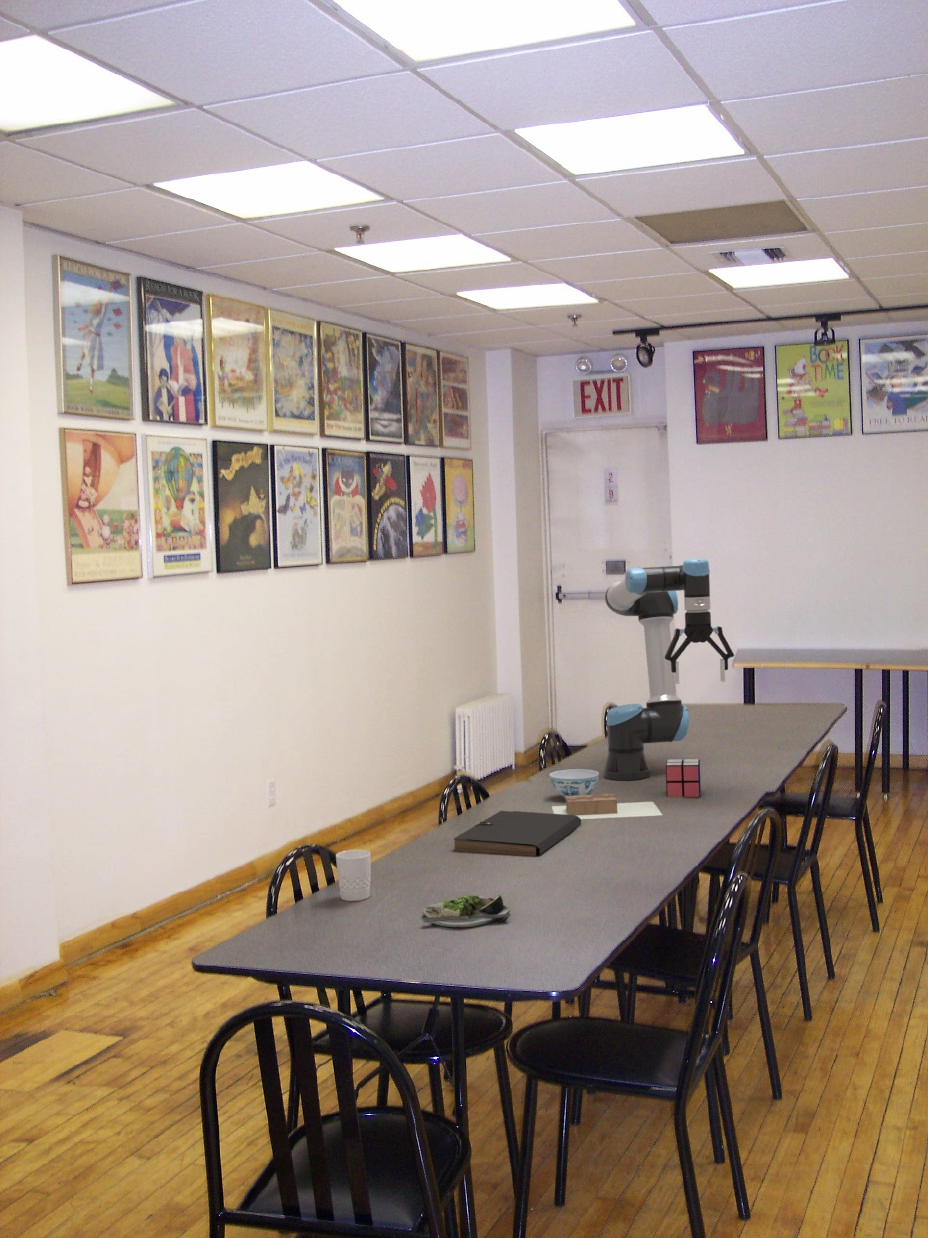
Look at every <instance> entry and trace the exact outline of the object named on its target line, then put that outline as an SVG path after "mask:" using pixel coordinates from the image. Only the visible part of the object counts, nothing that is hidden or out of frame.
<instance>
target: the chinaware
mask: <svg viewBox="0 0 928 1238" xmlns="http://www.w3.org/2000/svg"><path fill="white" fill-rule="evenodd" d="M599 776H600V773H599V771H597V770H593V769H585V768H584V769H583V768H574V769H573V768H571V769H562V770H556V771H553V772H550V773H549V778H550V781H551V784H552V787H553V788H554V790H555V791H556V792H557V793H558V794H560V796H562V797H563V799H565V800H566V796H576V795H591V793H592V792H593V791H594V790H595V788H596V786H597V784H598V781H599Z"/></svg>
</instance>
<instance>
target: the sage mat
mask: <svg viewBox="0 0 928 1238" xmlns="http://www.w3.org/2000/svg"><path fill="white" fill-rule="evenodd" d="M551 810H552V812H553V813H552V814H564V815H568V813H567V810H566V805H557V806H556V805H552V806H551ZM575 816H578V817H579V818H580V819H581V820H591V819H594V820H597V819H614V818H615V819H616V818H632V817H633V818H634V817H636V818H637V817H639V818H640V817H654V816H656V817H657V816H663V813H662V812H661V811H660V809H659V808H658V806H657V805H656V804H655V802H654V801H639V802H638V801H637V802H619V803H618V802H617V813H613V814H592V815H575Z"/></svg>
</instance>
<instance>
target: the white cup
mask: <svg viewBox="0 0 928 1238" xmlns="http://www.w3.org/2000/svg"><path fill="white" fill-rule="evenodd" d="M371 858H372V857H371V852H370V851H369V850H365V849H348V850H344V851H340V852H337V853H336V854H335V861H336V870H337V880H338V886H339V891H340V892H339V895H340V899H341V900H342V901H347V902H357V901H363V900H367V899H369V898H370V897H371V889H370V888H371V878H372V876H371V872H372V871H371V869H372V867H371V860H372V859H371Z"/></svg>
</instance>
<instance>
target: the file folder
mask: <svg viewBox="0 0 928 1238" xmlns="http://www.w3.org/2000/svg"><path fill="white" fill-rule="evenodd" d="M581 824H582V819H580V818H579V817H578V816H575V815H564V814H554V813H549V812H547V813H545V812H533V811H532V812H531V811H518V810H516V811H515V810H514V811H509V810H508V811H507V810H499V811H498V812H497V813H495V814H493V815H491V816H490V817H488V818H486V819H484V820H482V821H480V822H479V823H478V824H475V825H474V826H472V827H471V828H468V829H467V830H466V831H464V832H462V833H460V834H459V835H457V836H455V837H454V838H453V840H454V841H453V843H454V845H453V846H454V852H455V851H456V852H467V853H480V854H499V855H500V854H501V855H502V854H503V855H514V856H515V855H517V856H532V857H537V854H538V853H539V854H538V856H541V855H542V854H543V853H545V852H547V851H548V850H550V848H552V847H553V846H555V845H557V844H558V842H560V841H561V840H562V839H564V838H565V837H567V836H568V835H569V834H571V833H572V832H574V831H575V830H576V829H577V828H578V827H579V826H581Z"/></svg>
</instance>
